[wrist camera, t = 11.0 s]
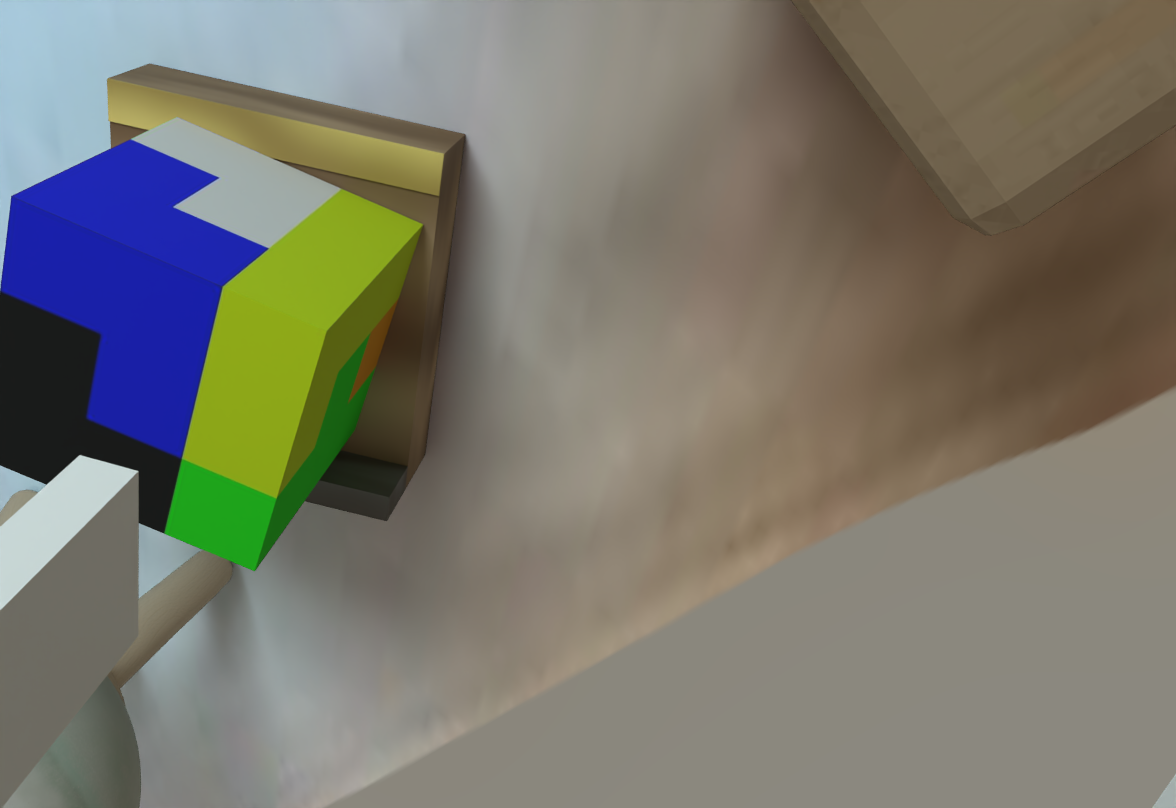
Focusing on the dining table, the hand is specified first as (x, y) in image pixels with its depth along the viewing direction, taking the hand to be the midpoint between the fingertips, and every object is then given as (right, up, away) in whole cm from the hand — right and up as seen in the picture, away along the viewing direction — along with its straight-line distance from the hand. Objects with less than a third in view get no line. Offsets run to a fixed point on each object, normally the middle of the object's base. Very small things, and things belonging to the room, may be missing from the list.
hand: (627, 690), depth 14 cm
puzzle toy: (-13, +9, +30) cm, 34 cm away
